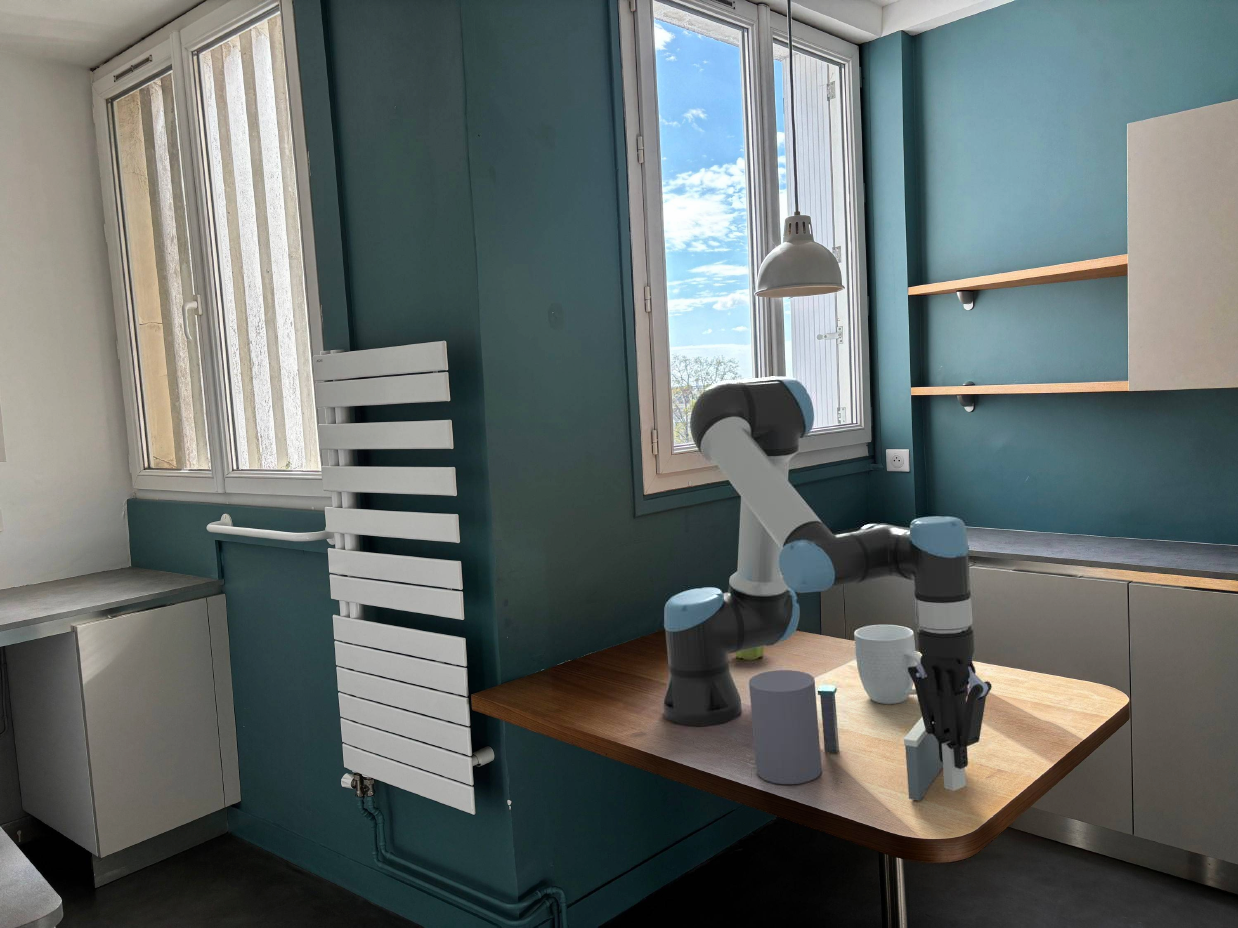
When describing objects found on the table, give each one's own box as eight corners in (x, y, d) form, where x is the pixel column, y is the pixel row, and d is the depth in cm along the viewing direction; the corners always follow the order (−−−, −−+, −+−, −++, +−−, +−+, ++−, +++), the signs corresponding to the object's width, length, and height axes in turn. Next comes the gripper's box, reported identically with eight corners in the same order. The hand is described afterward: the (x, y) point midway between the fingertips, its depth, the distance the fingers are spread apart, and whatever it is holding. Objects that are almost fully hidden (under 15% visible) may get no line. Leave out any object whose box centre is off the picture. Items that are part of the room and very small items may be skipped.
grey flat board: (934, 760, 137) (930, 706, 136) (946, 762, 136) (942, 707, 135) (908, 798, 125) (903, 738, 125) (920, 800, 124) (916, 740, 124)
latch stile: (822, 753, 144) (817, 690, 144) (825, 747, 147) (820, 685, 146) (838, 754, 143) (833, 691, 142) (841, 748, 146) (836, 685, 145)
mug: (948, 702, 162) (943, 633, 161) (910, 718, 156) (905, 647, 155) (884, 684, 174) (879, 621, 173) (846, 699, 168) (841, 633, 167)
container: (750, 783, 136) (742, 690, 135) (763, 756, 145) (756, 669, 144) (817, 788, 132) (809, 692, 131) (825, 760, 142) (818, 670, 141)
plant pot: (773, 660, 197) (770, 622, 196) (732, 663, 197) (729, 626, 196) (766, 648, 206) (763, 612, 205) (727, 652, 206) (724, 616, 205)
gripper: (1001, 629, 119) (1012, 794, 121) (926, 613, 130) (936, 764, 132) (964, 640, 115) (976, 811, 117) (890, 623, 127) (901, 778, 128)
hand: (955, 786), depth 125 cm, fingers closed
